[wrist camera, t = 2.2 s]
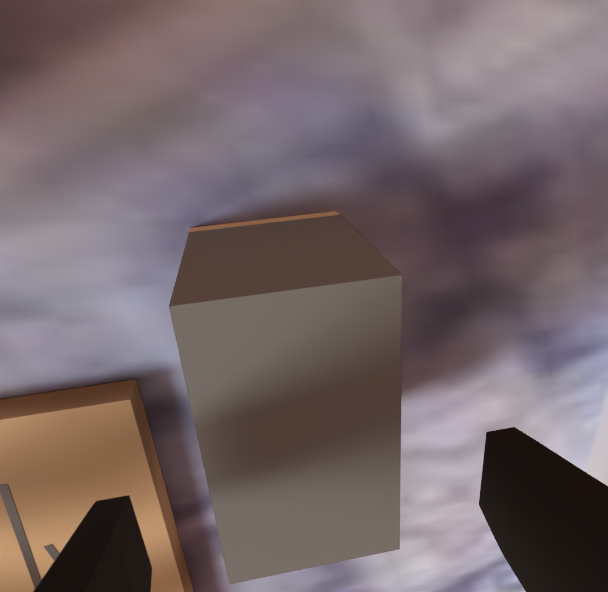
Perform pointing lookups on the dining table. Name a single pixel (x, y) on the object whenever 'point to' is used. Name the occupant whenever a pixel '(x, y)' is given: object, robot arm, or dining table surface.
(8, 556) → the oak board
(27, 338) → the dining table surface
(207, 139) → the dining table surface
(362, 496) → the block
